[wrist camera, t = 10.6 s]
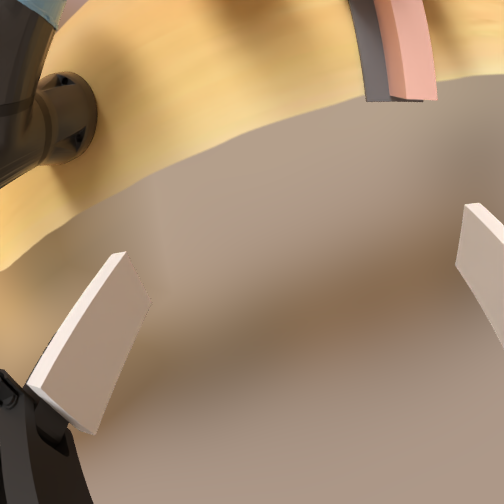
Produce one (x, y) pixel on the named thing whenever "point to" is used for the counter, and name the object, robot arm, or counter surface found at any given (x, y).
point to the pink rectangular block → (407, 49)
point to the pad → (372, 52)
